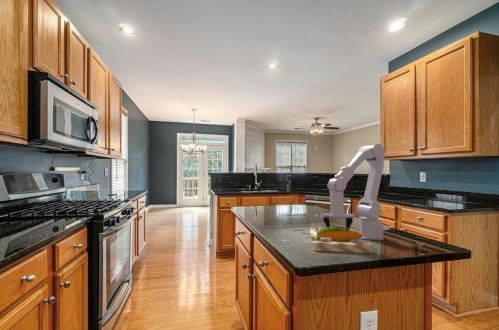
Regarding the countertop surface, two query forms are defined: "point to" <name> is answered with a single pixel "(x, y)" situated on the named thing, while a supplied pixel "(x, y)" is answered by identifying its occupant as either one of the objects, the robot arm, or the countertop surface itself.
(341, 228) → the corn
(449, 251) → the countertop surface
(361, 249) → the boss rack
